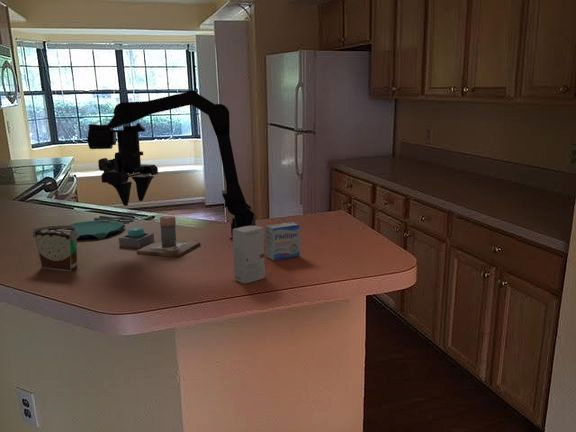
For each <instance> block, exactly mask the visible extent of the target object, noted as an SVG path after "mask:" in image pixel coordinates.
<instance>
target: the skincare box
mask: <svg viewBox="0 0 576 432" xmlns="http://www.w3.org/2000/svg"><path fill="white" fill-rule="evenodd" d="M232 232H233V236H232V237H233V240H232V254H233V255H232V256H233V275H234V277H233V278H234V280H235V281H236V282H239V283H241V284H244V285H245V284H249V283H250V284H251V283H252V282H257V281H260V280H262V279H265V277H266V275H265V274H266V273H265V267H266V266H265V237H264V227H262V226H257V225H256V226H254V225H250V226H244V227H240V228H235V229H233V230H232Z"/></svg>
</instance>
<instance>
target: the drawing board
mask: <svg viewBox="0 0 576 432" xmlns="http://www.w3.org/2000/svg"><path fill="white" fill-rule="evenodd" d="M199 246H201V241H190V240H189V241H188V240H187V241H186V240H177V239H176V246H174V247H162V243H161V238H160V239H158V240H156V241H154V242H153V243H150V244H148V245H146V246H144V247H142V248H138V249H137V250H136V254H140V255H150V256H151V255H153V256H161V257H172V258H180V257H181V256H183V255H186V254H187V253H189V252H191V251H193V250H194V249H196V248H197V247H199Z"/></svg>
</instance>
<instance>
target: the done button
mask: <svg viewBox="0 0 576 432" xmlns="http://www.w3.org/2000/svg"><path fill="white" fill-rule="evenodd" d="M144 232H145V228H143V227H132V228H129V229H127V234H128V237H129V238H141V237H143V236H144Z"/></svg>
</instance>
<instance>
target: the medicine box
mask: <svg viewBox="0 0 576 432" xmlns="http://www.w3.org/2000/svg"><path fill="white" fill-rule="evenodd" d="M300 242H301V241H300V224H298V223H296V222H293V221H291V222H290V221H289V222H284V223H282V222H281V223H277V224H270V225H269V224H268V225H265V255H266V257H267V258H269V260H272V261H275V262H277V261H281V260H286V259H287V260H288V259H292V258H297V257H300V252H301V251H300V249H301V248H300V247H301V245H300Z"/></svg>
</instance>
